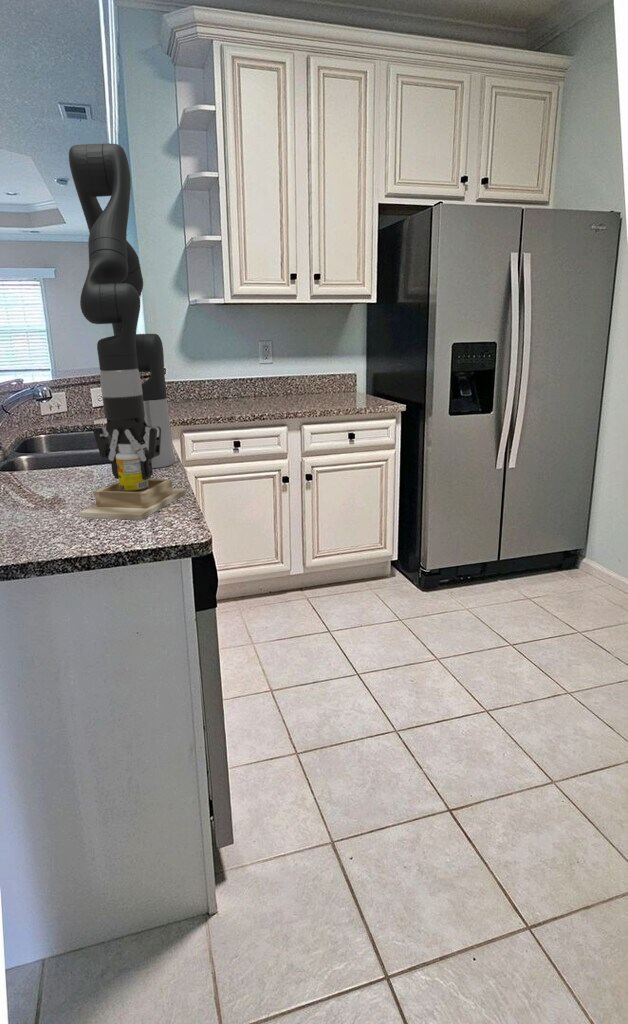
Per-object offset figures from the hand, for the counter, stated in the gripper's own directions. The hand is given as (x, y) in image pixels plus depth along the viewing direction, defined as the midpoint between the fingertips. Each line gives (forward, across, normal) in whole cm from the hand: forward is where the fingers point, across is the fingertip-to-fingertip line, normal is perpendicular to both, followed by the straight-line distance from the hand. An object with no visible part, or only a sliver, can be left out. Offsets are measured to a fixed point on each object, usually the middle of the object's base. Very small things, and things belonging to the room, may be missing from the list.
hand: (133, 478), depth 123 cm
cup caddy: (+6, 0, 0) cm, 6 cm away
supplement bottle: (+3, 0, 0) cm, 3 cm away
